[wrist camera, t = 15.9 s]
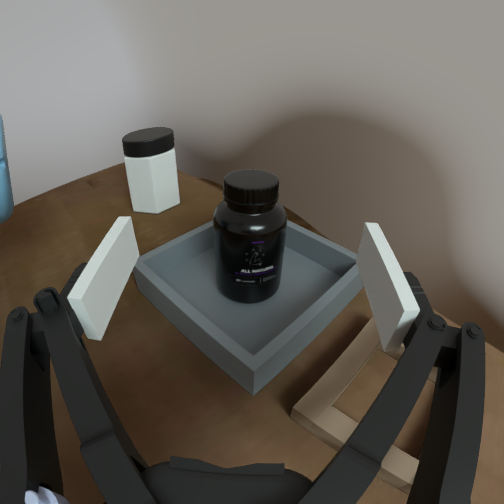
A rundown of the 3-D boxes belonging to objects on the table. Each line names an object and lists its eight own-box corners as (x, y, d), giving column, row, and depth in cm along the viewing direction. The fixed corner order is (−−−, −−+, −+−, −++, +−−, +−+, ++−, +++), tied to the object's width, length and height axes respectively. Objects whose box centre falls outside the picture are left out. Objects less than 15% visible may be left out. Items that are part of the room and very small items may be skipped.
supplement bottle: (252, 317, 30) (255, 203, 23) (203, 285, 33) (193, 179, 26) (293, 281, 34) (305, 177, 27) (245, 256, 37) (246, 159, 30)
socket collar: (289, 417, 22) (292, 407, 21) (369, 326, 30) (375, 313, 29) (416, 499, 15) (428, 493, 14) (471, 385, 23) (481, 374, 21)
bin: (138, 289, 34) (130, 261, 31) (249, 227, 44) (249, 202, 42) (253, 395, 24) (254, 371, 22) (362, 288, 34) (370, 261, 32)
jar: (189, 193, 53) (184, 126, 46) (169, 216, 47) (161, 141, 40) (145, 189, 55) (136, 127, 48) (122, 211, 48) (109, 142, 41)
